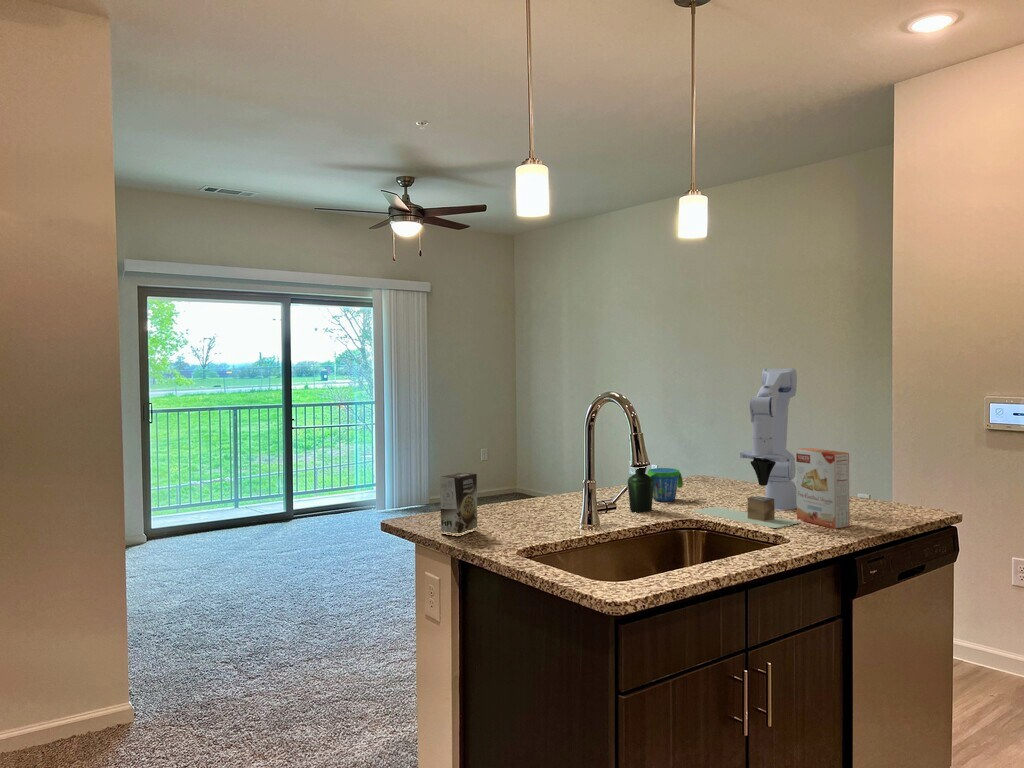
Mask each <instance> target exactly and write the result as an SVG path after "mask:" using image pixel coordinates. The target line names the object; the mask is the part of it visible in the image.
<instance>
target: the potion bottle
mask: <svg viewBox="0 0 1024 768" xmlns="http://www.w3.org/2000/svg"><path fill="white" fill-rule="evenodd" d="M649 466H651V464H650V462H649ZM647 468H648V466H647V467H645V468H639V469H637V470H636V471H635V474H633V475H631V476H629V477H628V479H627V488H628V490H627V491H628V499H629V502H628V503H629V510H630V512H632V513H634V512H636V513H635V514H641V513H648V512H652V510H653V509H652V508H653V501H654V499H653V487H654V480H653V479H652V478H651V477H650V476H648V475H647V474H648V473H647V474H646V471H647Z"/></svg>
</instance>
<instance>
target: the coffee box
mask: <svg viewBox="0 0 1024 768" xmlns="http://www.w3.org/2000/svg"><path fill="white" fill-rule="evenodd" d="M477 476H478V475H477V473H473V472H471V473H470V472H457V473H451V474H447V475H442V476H440V532H441V531H445V532H451V533H462V532H465V531H467V530H471V529H473V528H476V527H477V528H478V481H477V480H478V477H477Z"/></svg>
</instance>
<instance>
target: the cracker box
mask: <svg viewBox="0 0 1024 768" xmlns="http://www.w3.org/2000/svg"><path fill="white" fill-rule="evenodd" d="M795 453H796V455H795V466H796V472H795V474H796V489H797V508H796V519H797V520H800V521H802V522H805V521H807V522H806V523H809V522H810V524H813V523H814V524H813V525H817V524H819V525H818V526H821V525H823V526H822V527H825V526H826V527H825V528H829V527H830V529H832V528H833V529H834V530H837V529H838V528H839V529H844V528H850V453H849V452H845V451H838V450H830V449H822V448H815V447H802V448H801V447H800V448H797V449H795Z"/></svg>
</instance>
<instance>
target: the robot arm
mask: <svg viewBox="0 0 1024 768" xmlns="http://www.w3.org/2000/svg"><path fill="white" fill-rule="evenodd" d="M797 384H798V375H797V370H796V369H795V368H794V367H793V368H792V367H791V368H767V367H766V368H764V369H762V372H761V385H762V386H761V387H760V389H759V390H758V391H757V392H758V393H757V394H756V396H754V397H753V398H750V401H749V414H750V422H751V425H752V433H751V436H752V451H749V450H748V451H746V450H741V451H739V458H740V459H749V460H751V461H750V465H751V466H752V468H753V470H754V472H755V475H756V478H757V481H758V485H759V486H764V487H765V497H767V498H773V499H774V508H775V511H781V512H784V511H786V510H794V509H795V510H796V509H797V484H796V483H795V482H794V481H793V479H795V477H796V456H795V455H794V454H793V453H792V452H791V451H789V450H788V449H787V444H788V443H787V439H788V423H789V421H788V417H789V406H790V401H791V398H793V397H796V393H797V387H798V386H797Z"/></svg>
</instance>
